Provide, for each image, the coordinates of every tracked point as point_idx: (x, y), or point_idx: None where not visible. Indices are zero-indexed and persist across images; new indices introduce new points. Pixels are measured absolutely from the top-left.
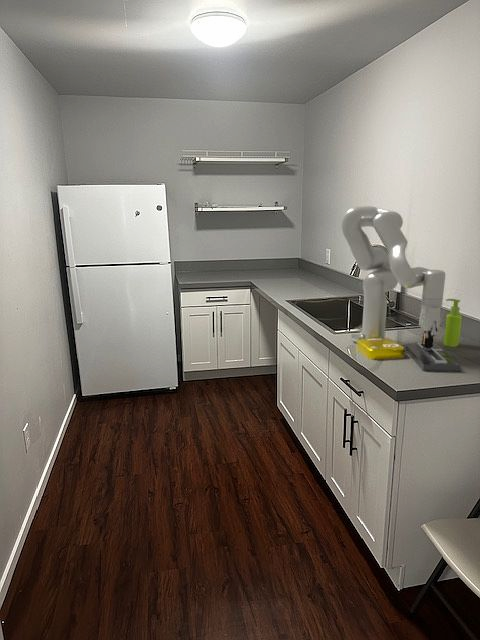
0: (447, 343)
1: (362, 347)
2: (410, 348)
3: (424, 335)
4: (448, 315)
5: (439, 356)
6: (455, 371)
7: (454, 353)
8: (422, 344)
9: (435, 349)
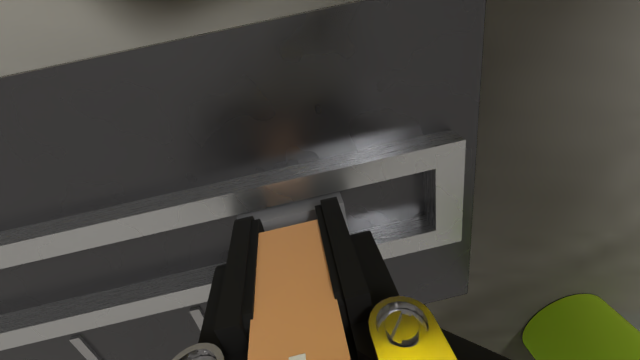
0: (555, 323)
1: None
2: (302, 35)
3: (312, 337)
4: None
5: (22, 326)
6: None
7: None
8: (322, 204)
9: None
